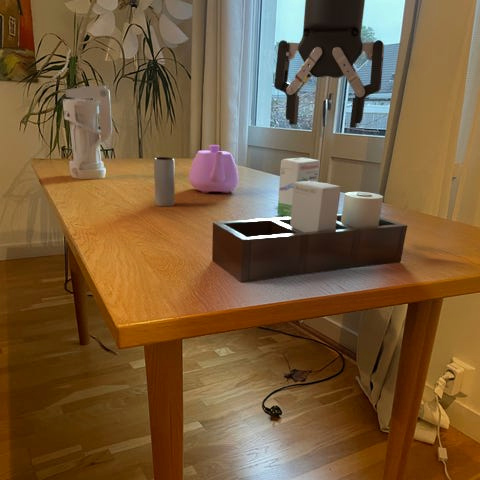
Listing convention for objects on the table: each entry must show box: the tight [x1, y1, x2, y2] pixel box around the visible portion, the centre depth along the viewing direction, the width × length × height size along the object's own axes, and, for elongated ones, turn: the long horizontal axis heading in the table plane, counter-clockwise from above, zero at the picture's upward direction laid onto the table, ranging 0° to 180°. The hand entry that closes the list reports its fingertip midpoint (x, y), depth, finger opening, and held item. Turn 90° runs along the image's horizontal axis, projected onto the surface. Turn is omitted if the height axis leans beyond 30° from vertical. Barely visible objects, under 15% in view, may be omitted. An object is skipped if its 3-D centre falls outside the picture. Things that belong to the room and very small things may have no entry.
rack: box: [211, 213, 408, 283], centre depth 74 cm, size 29×10×6 cm, turn 116°
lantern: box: [62, 85, 113, 180], centre depth 139 cm, size 13×10×25 cm
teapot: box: [188, 144, 239, 194], centre depth 127 cm, size 20×13×12 cm, turn 11°
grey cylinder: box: [153, 156, 176, 207], centre depth 109 cm, size 4×4×10 cm
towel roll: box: [341, 191, 384, 228], centre depth 77 cm, size 6×6×10 cm
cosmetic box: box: [290, 181, 342, 232], centre depth 73 cm, size 6×4×12 cm
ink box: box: [276, 157, 321, 217], centre depth 105 cm, size 8×5×12 cm, turn 139°
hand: (322, 126), depth 67 cm, fingers open, 8 cm apart
